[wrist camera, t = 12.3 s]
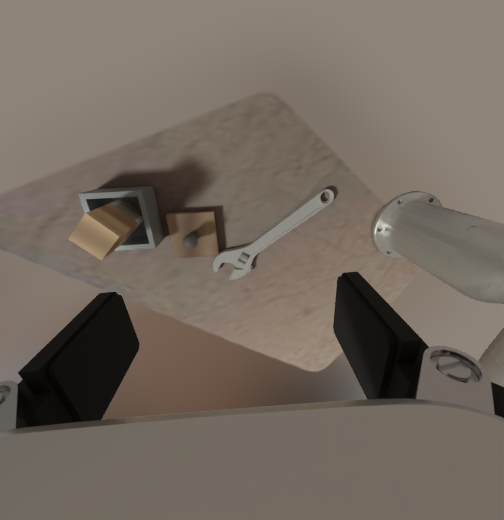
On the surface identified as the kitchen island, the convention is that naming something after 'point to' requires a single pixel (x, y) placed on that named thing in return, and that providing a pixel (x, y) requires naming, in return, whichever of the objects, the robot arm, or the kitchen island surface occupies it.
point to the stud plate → (196, 225)
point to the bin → (143, 198)
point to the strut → (107, 227)
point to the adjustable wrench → (269, 236)
